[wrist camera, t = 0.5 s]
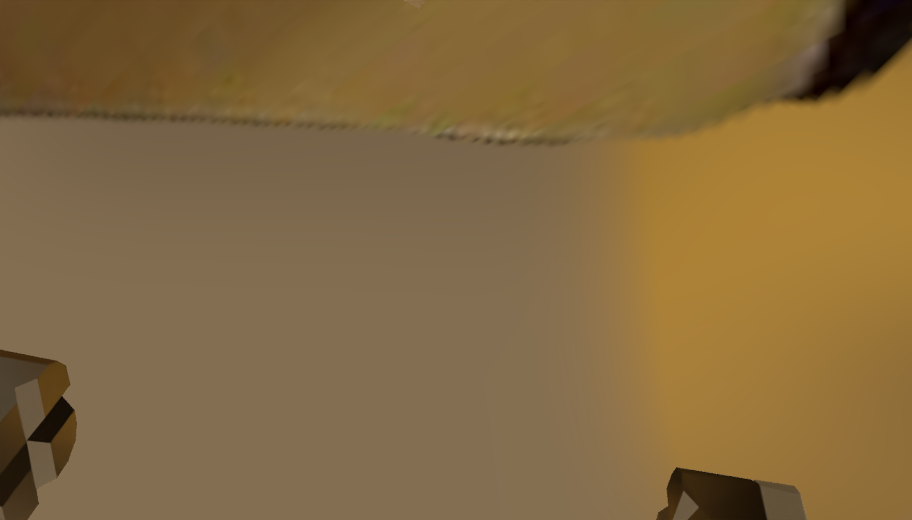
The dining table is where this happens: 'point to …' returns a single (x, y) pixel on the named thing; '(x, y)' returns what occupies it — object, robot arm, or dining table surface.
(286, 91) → the dining table surface
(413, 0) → the block
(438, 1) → the dining table surface
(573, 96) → the dining table surface
